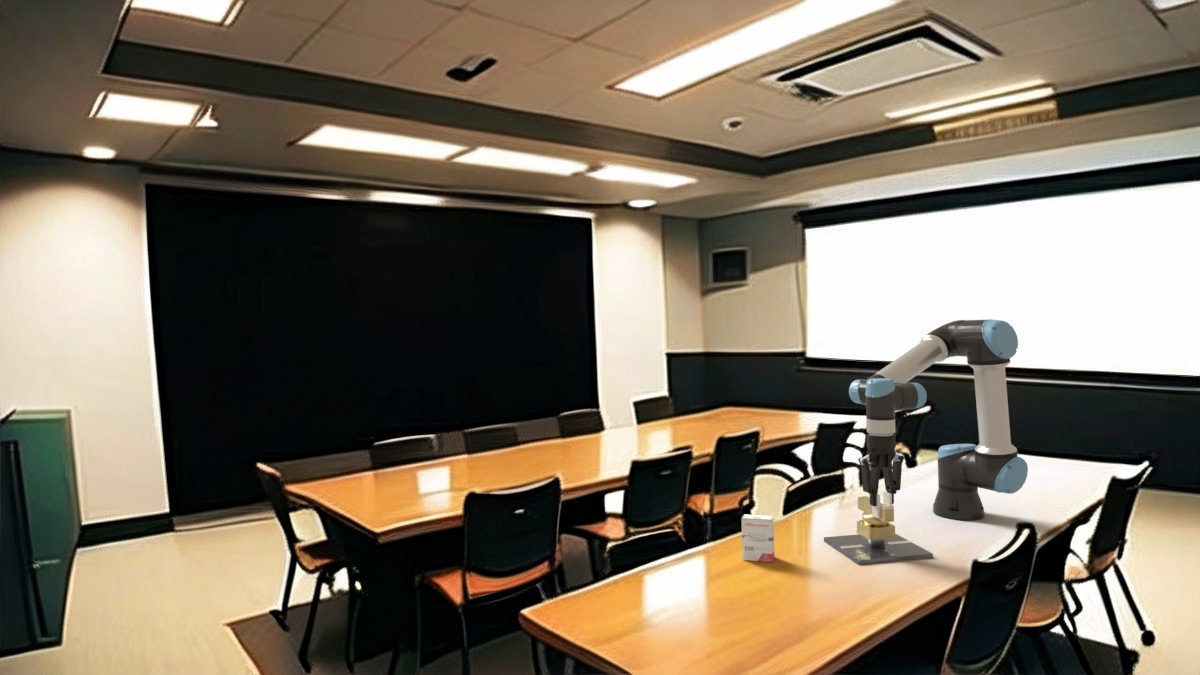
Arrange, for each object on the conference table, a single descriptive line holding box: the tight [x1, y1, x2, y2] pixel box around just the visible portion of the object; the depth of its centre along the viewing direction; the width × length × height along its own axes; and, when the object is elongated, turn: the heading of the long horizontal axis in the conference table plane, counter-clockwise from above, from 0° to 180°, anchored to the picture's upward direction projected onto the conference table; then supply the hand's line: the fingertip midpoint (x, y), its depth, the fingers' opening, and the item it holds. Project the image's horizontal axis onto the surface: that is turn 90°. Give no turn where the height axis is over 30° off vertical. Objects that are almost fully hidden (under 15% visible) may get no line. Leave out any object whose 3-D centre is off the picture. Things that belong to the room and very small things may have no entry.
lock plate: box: [823, 526, 934, 566], centre depth 199 cm, size 22×20×7 cm
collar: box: [856, 495, 896, 541], centre depth 199 cm, size 8×14×10 cm, turn 10°
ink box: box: [741, 513, 775, 563], centre depth 195 cm, size 9×5×12 cm, turn 71°
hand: (882, 516), depth 196 cm, fingers open, 3 cm apart
